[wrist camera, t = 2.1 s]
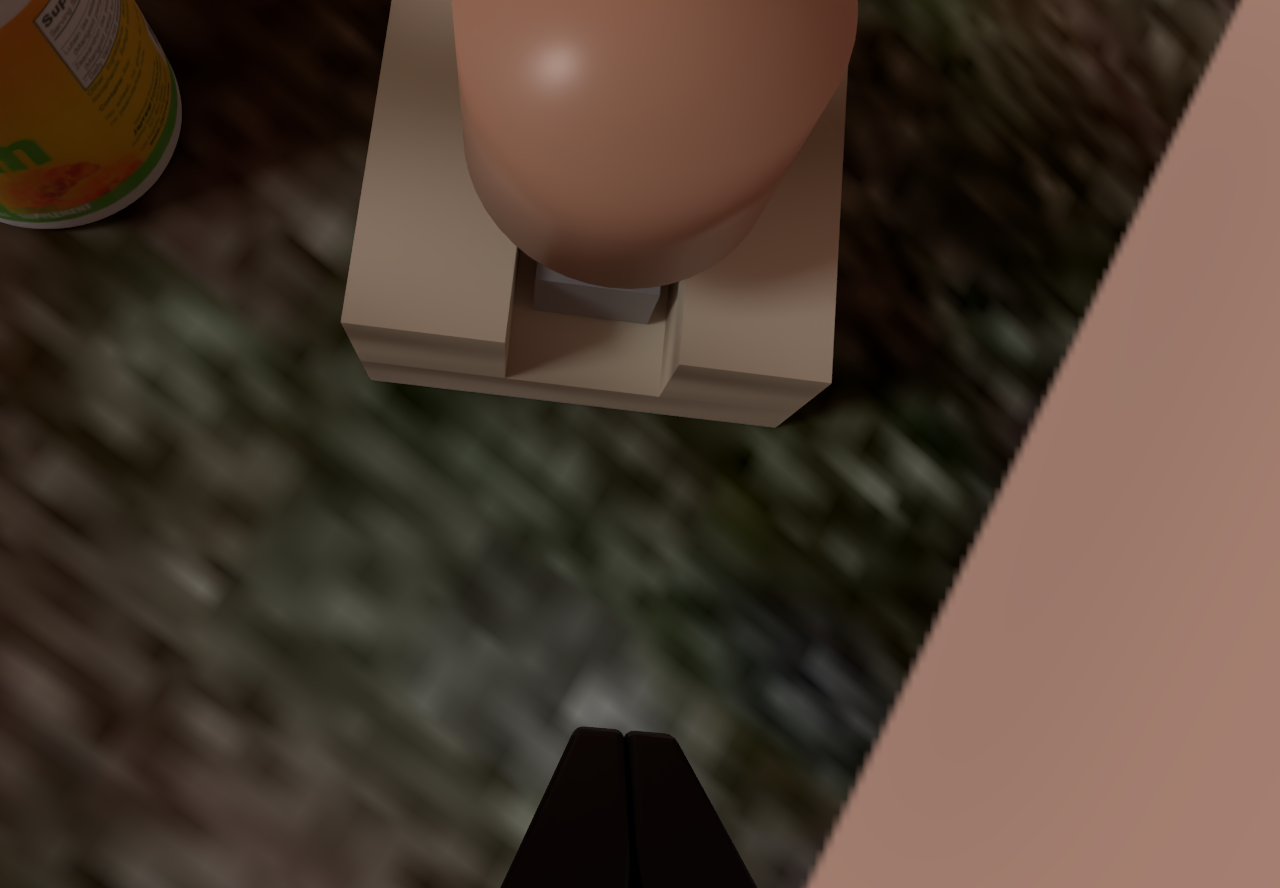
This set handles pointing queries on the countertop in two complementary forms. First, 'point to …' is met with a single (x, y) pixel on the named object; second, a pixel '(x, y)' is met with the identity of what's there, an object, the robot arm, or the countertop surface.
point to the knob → (638, 131)
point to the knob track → (505, 276)
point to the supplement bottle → (81, 110)
